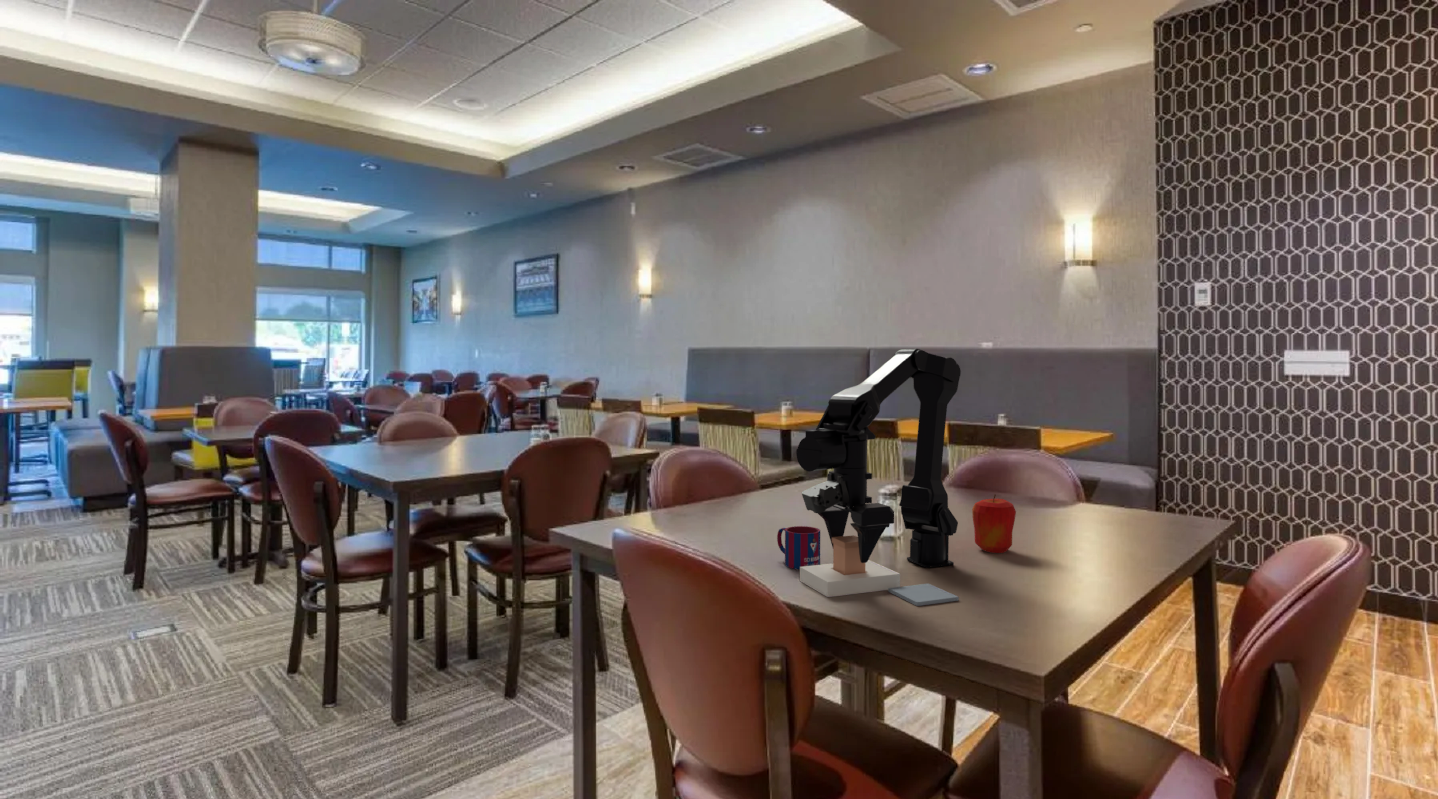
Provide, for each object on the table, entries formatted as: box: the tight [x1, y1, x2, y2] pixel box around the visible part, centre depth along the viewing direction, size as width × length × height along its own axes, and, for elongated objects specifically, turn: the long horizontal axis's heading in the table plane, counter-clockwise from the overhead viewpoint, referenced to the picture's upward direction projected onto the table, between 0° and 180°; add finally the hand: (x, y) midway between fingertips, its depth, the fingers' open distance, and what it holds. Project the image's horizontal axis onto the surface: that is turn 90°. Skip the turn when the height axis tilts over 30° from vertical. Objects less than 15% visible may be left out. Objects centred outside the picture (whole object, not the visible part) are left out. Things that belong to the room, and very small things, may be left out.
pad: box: [887, 583, 960, 607], centre depth 122 cm, size 8×8×1 cm
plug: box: [832, 534, 865, 575], centre depth 128 cm, size 4×4×8 cm
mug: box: [776, 525, 821, 570], centre depth 143 cm, size 7×10×7 cm
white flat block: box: [799, 559, 901, 598], centre depth 128 cm, size 14×10×2 cm
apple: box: [971, 493, 1017, 554], centre depth 152 cm, size 9×8×12 cm
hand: (849, 556), depth 128 cm, fingers open, 9 cm apart
